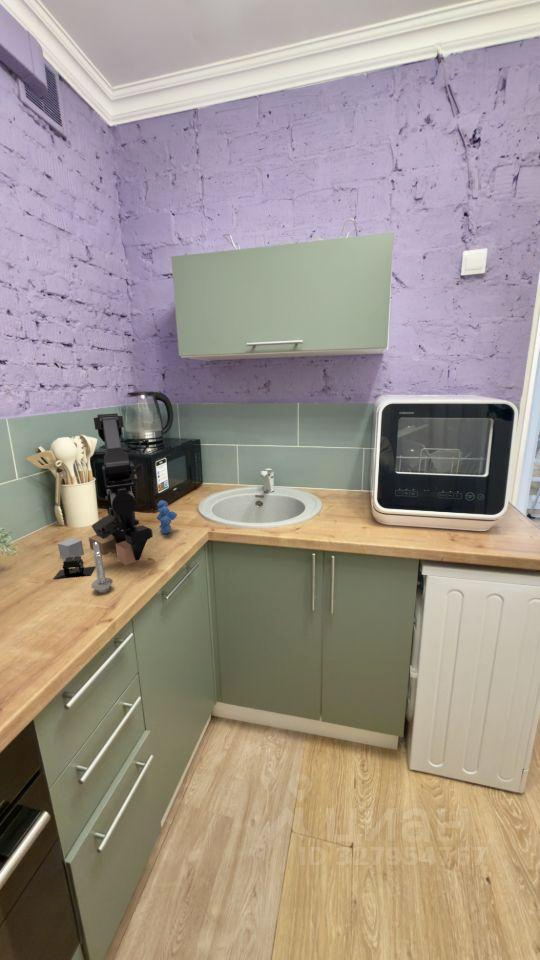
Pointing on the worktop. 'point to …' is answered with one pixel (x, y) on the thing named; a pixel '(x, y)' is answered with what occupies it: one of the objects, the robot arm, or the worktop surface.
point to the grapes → (165, 516)
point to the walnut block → (103, 544)
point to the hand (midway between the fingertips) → (129, 555)
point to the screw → (100, 572)
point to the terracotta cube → (125, 553)
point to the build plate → (74, 569)
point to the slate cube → (70, 548)
